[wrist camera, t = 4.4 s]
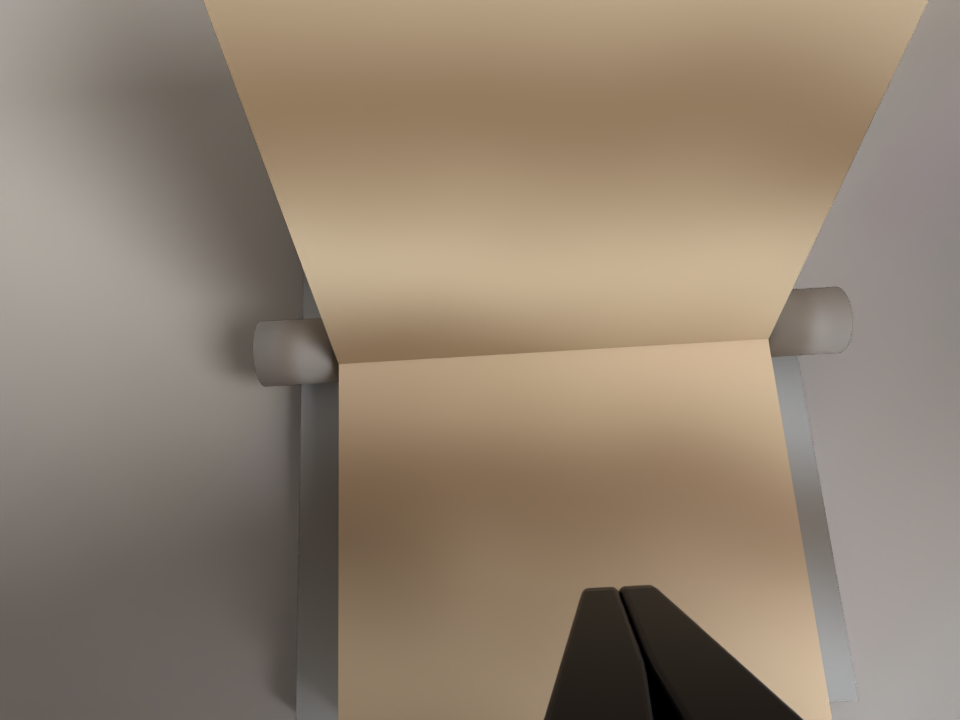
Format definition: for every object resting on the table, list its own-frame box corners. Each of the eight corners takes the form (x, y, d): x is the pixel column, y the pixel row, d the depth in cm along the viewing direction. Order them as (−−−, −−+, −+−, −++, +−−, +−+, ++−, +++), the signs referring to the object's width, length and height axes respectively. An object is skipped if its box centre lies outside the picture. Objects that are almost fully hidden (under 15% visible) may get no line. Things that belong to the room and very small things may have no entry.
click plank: (749, 277, 15) (768, 338, 14) (344, 302, 15) (338, 364, 15) (1091, -604, 6) (1206, -589, 5) (81, -521, 6) (19, -494, 5)
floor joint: (870, 692, 15) (937, 715, 12) (277, 721, 15) (236, 750, 13) (728, -84, 20) (756, -167, 18) (295, -54, 20) (268, -132, 18)
